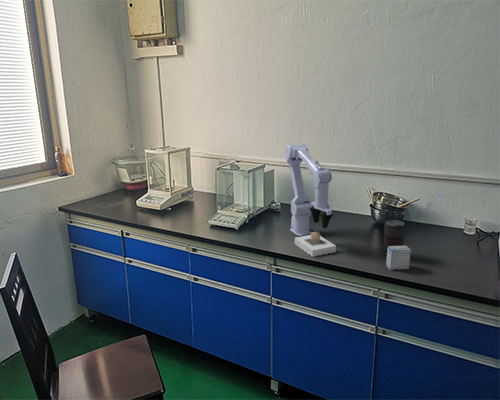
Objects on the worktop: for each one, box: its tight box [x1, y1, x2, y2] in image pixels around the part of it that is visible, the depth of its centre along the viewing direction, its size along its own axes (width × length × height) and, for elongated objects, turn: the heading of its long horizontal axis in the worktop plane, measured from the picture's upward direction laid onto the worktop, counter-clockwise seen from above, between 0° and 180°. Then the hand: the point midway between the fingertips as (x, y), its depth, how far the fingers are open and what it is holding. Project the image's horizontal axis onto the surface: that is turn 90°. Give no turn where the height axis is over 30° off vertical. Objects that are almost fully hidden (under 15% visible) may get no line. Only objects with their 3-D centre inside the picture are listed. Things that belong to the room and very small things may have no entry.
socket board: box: [294, 234, 337, 258], centre depth 183 cm, size 16×12×3 cm
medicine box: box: [385, 245, 412, 271], centre depth 162 cm, size 8×4×9 cm, turn 92°
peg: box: [310, 231, 321, 244], centre depth 182 cm, size 4×4×7 cm
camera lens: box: [382, 219, 406, 258], centre depth 172 cm, size 8×8×15 cm
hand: (320, 225), depth 183 cm, fingers open, 7 cm apart
